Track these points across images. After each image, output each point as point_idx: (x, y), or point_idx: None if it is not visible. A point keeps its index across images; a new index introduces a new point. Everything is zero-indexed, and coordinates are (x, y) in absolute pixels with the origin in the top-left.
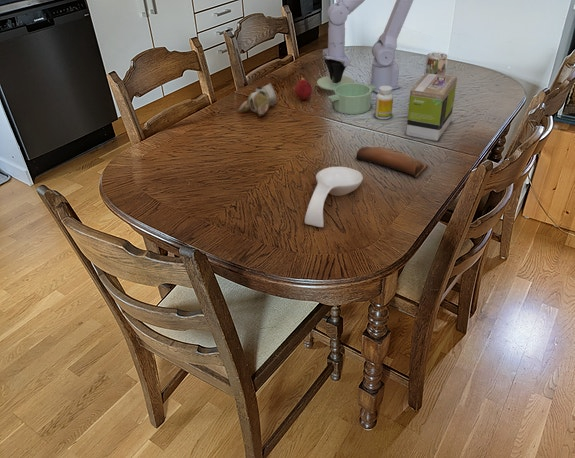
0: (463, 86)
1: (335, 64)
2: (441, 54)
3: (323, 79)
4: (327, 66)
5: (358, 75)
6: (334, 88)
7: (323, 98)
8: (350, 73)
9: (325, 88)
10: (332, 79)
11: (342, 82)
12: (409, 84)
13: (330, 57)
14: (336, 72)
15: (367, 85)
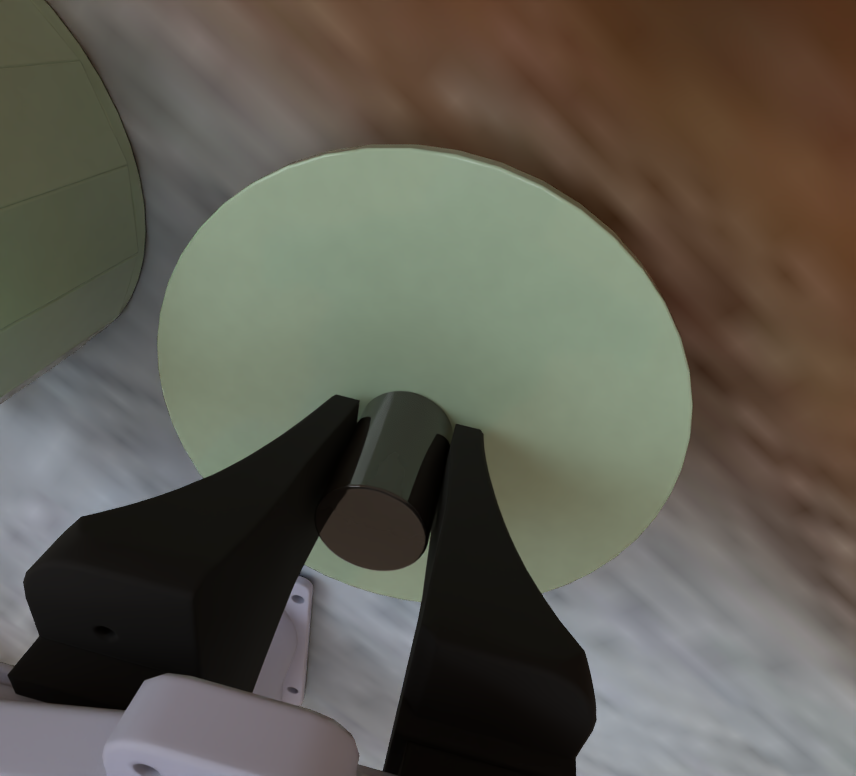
0: None
1: (53, 581)
2: None
3: (609, 394)
4: (506, 568)
5: None
6: (205, 243)
7: (336, 71)
8: (642, 715)
9: (314, 157)
10: (411, 417)
11: None
12: None
13: (116, 771)
14: (217, 479)
15: (296, 593)
